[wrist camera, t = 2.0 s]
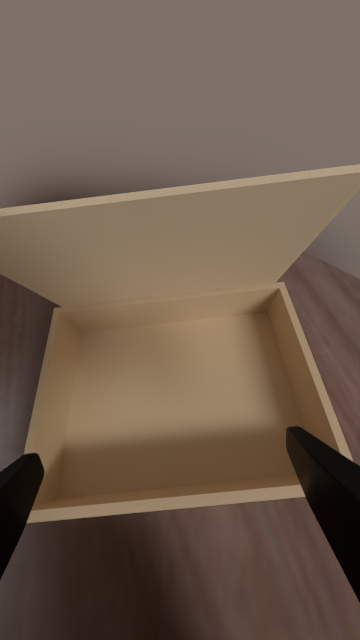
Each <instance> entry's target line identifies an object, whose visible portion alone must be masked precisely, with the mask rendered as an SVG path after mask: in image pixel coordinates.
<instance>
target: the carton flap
mask: <svg viewBox="0 0 360 640" xmlns="http://www.w3.org/2000/svg"><path fill="white" fill-rule="evenodd" d="M359 190H360V164H358V165H350V166H342V167H334V168H326V169H319V170H318V169H317V170H309V171H301V172H294V173H285V174H277V175H269V176H261V177H253V178H245V179H237V180H228V181H220V182H212V183H205V184H196V185H188V186H180V187H172V188H165V189H156V190H148V191H140V192H131V193H123V194H116V195H107V196H99V197H91V198H84V199H75V200H67V201H58V202H50V203H42V204H35V205H26V206H19V207H10V208H2V209H0V274H1V275H3V276H5V277H7V278H9V279H11V280H13V281H14V282H16V283H18V284H20V285H22V286H24V287H26V288H27V289H29V290H31V291H33V292H35V293H37V294H39V295H41V296H42V297H44V298H46V299H48V300H50V301H52V302H54V303H55V304H57V305H59V306H61V307H69V306H78V305H86V304H95V303H104V302H113V301H121V300H130V299H139V298H148V297H156V296H165V295H174V294H183V293H191V292H200V291H209V290H218V289H226V288H235V287H244V286H253V285H262V284H270V283H275V282H276V281H277V280H278V279H279V278H280V277H281V276H282V275H283V274H284V272H285V271H286V270H287V269H288V268H289V267H290V266H291V265H292V264H293V262H294V261H295V260H296V259H297V258H298V257H299V256H300V255H301V254H302V253H303V251H304V250H305V249H306V248H307V247H308V246H309V245H310V244H311V243H312V241H313V240H314V239H315V238H316V237H317V236H318V235H319V234H320V233H321V231H322V230H323V229H324V228H325V227H326V226H327V225H328V224H329V223H330V222H331V220H332V219H333V218H334V217H335V216H336V215H337V214H338V213H339V212H340V211H341V209H342V208H343V207H344V206H345V205H346V204H347V203H348V202H349V201H350V199H351V198H352V197H353V196H354V195H355V194H356V193H357V192H358V191H359Z"/></svg>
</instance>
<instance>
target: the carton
mask: <svg viewBox="0 0 360 640" xmlns="http://www.w3.org/2000/svg"><path fill="white" fill-rule="evenodd" d="M290 426H300V427H301V428H303V429H304V430H306V431H307V432H309V433H310V434H312V435H313V436H315V437H316V438H318V439H320V440H321V441H323V442H324V443H326V444H327V445H329V446H330V447H332V448H333V449H335V450H336V451H338V452H339V453H341V454H342V455H344V456H345V457H347V458H348V459H350V460H351V461H353V459H352V457H351V454H350V451H349V449H348V446H347V444H346V441H345V439H344V436H343V433H342V431H341V428H340V426H339V423H338V420H337V418H336V415H335V413H334V410H333V408H332V405H331V402H330V400H329V397H328V395H327V392H326V390H325V387H324V384H323V382H322V379H321V377H320V374H319V371H318V369H317V366H316V364H315V361H314V359H313V356H312V353H311V351H310V348H309V346H308V343H307V340H306V338H305V335H304V333H303V330H302V328H301V325H300V322H299V320H298V317H297V315H296V312H295V310H294V307H293V304H292V302H291V299H290V297H289V294H288V291H287V289H286V286H285V284H284V282H278V283H270V284H262V285H253V286H244V287H235V288H226V289H218V290H209V291H200V292H191V293H183V294H174V295H165V296H156V297H148V298H139V299H130V300H121V301H113V302H104V303H95V304H86V305H78V306H69V307H59V308H54V311H53V316H52V321H51V326H50V330H49V335H48V340H47V345H46V350H45V354H44V359H43V364H42V369H41V373H40V378H39V383H38V388H37V393H36V397H35V402H34V407H33V412H32V417H31V421H30V426H29V431H28V436H27V440H26V445H25V450H24V454H27V453H38V454H39V456H40V459H41V461H42V464H43V467H44V478H43V481H42V483H41V486H40V489H39V491H38V494H37V497H36V499H35V502H34V504H33V507H32V510H31V512H30V515H29V518H28V520H27V523H34V522H45V521H55V520H66V519H76V518H87V517H97V516H108V515H118V514H128V513H139V512H149V511H160V510H170V509H181V508H191V507H202V506H212V505H222V504H233V503H243V502H254V501H264V500H275V499H285V498H296V497H305V494H304V492H303V490H302V487H301V485H300V482H299V480H298V477H297V475H296V472H295V470H294V467H293V465H292V463H291V460H290V458H289V455H288V453H287V449H286V429H287V427H290Z"/></svg>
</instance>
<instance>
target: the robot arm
mask: <svg viewBox="0 0 360 640" xmlns="http://www.w3.org/2000/svg"><path fill="white" fill-rule="evenodd" d="M286 449H287V453H288V455H289V458H290V460H291V463H292V465H293V467H294V470H295V472H296V475H297V477H298V480H299V482H300V485H301V487H302V490H303V492H304V494H305V497H306V499H307V501H308V503H309V505H310V507H311V509H312V511H313V513H314V515H315V517H316V519H317V521H318V523H319V525H320V527H321V529H322V531H323V533H324V535H325V536H326V538H327V540H328V542H329V544H330V546H331V548H332V550H333V552H334V554H335V556H336V558H337V560H338V562H339V564H340V565H341V567H342V569H343V571H344V573H345V575H346V577H347V579H348V581H349V583H350V585H351V587H352V589H353V591H354V593H355V594H356V596H357V598H358V600H359V602H360V466H359V465H357V464H356V463H354V462H353V461H351V460H350V459H348V458H347V457H345V456H344V455H342V454H341V453H339V452H338V451H336V450H335V449H333V448H332V447H330V446H329V445H327V444H326V443H324V442H323V441H321V440H320V439H318V438H316V437H315V436H313V435H312V434H310V433H309V432H307V431H306V430H304V429H303V428H301V427H300V426H290V427H287V429H286ZM43 478H44V467H43V464H42V461H41V459H40V456H39V454H38V453H27V454H24V455H23V456H21V457H20V458H19V459H17V460H16V461H15V462H13V463H12V464H11V465H9V466H8V467H7V468H5V469H4V470H2V471H1V472H0V580H1V578H2V575H3V573H4V571H5V569H6V567H7V565H8V563H9V560H10V558H11V556H12V554H13V552H14V550H15V548H16V545H17V543H18V541H19V539H20V537H21V535H22V532H23V530H24V528H25V525H26V523H27V520H28V518H29V515H30V512H31V510H32V507H33V504H34V502H35V499H36V497H37V494H38V491H39V489H40V486H41V483H42V481H43Z"/></svg>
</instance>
